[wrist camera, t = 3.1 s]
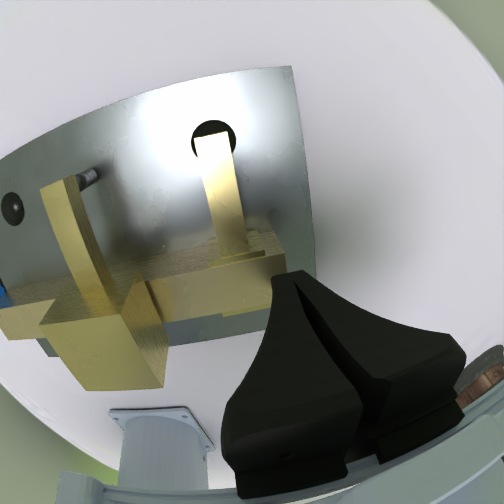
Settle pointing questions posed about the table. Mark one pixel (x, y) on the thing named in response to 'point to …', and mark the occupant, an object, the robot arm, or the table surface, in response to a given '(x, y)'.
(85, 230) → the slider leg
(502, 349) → the tankard
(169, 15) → the table surface
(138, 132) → the base
